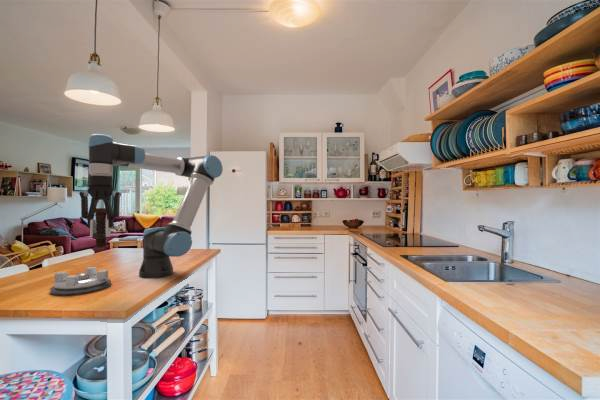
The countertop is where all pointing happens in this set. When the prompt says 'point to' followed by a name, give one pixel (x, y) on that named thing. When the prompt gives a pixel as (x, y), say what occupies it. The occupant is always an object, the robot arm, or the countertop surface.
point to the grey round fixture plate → (80, 279)
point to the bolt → (100, 227)
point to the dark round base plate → (81, 291)
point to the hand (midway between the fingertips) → (100, 236)
